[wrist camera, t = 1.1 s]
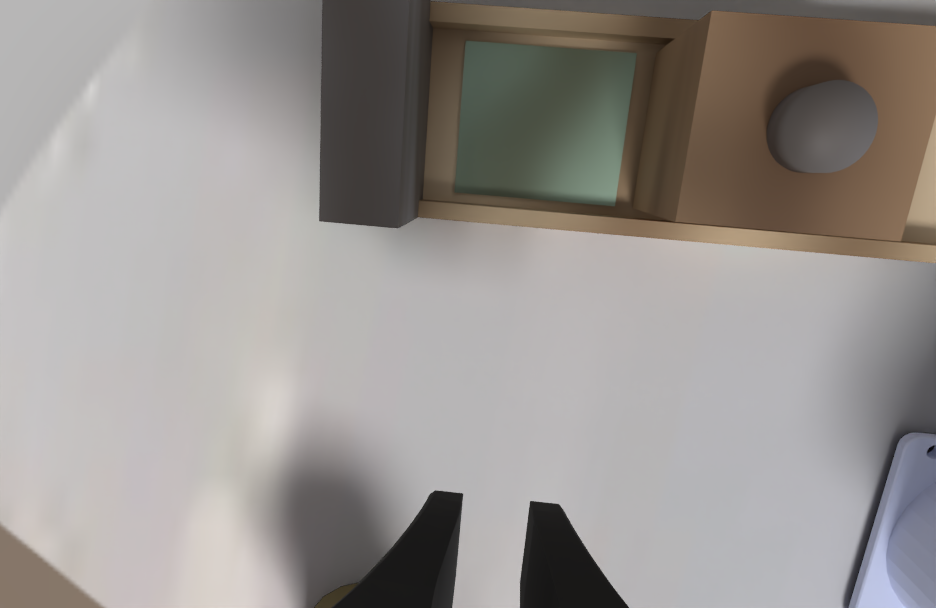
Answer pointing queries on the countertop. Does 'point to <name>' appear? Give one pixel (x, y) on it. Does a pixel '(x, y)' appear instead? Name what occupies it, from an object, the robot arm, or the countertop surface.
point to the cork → (334, 596)
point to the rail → (518, 125)
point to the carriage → (789, 124)
